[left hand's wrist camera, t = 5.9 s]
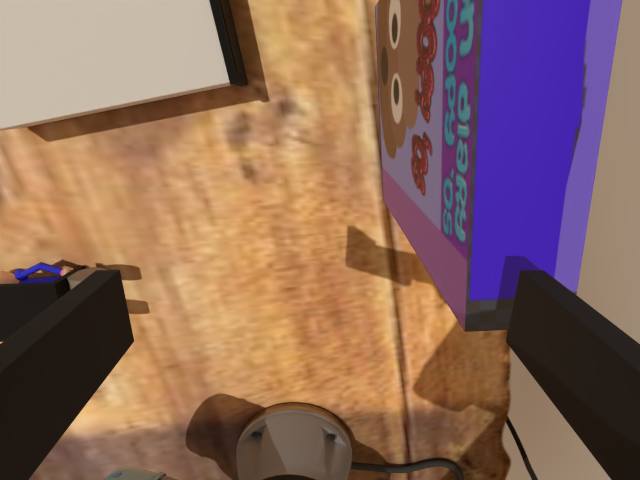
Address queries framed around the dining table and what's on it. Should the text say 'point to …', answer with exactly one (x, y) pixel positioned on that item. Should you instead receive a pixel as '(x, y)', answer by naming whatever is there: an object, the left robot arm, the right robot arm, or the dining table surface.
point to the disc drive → (110, 55)
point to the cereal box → (493, 139)
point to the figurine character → (33, 294)
